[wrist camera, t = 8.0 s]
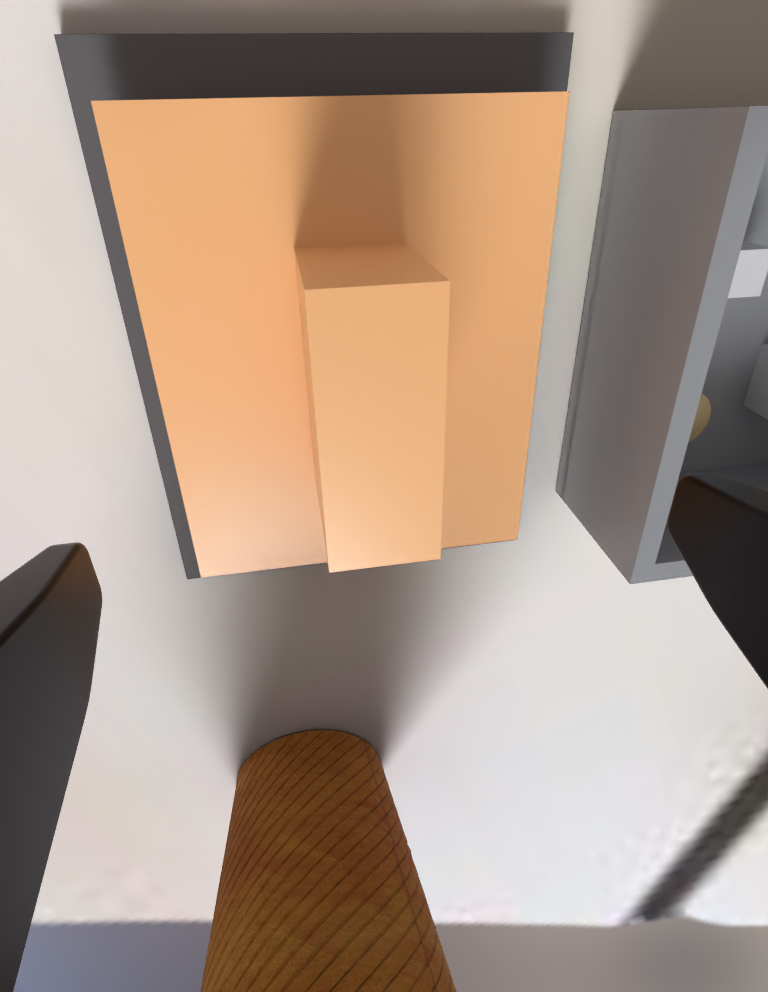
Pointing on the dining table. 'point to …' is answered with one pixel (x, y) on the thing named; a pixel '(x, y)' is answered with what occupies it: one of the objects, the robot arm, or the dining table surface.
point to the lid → (341, 313)
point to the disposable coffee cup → (320, 879)
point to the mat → (274, 73)
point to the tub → (670, 329)
